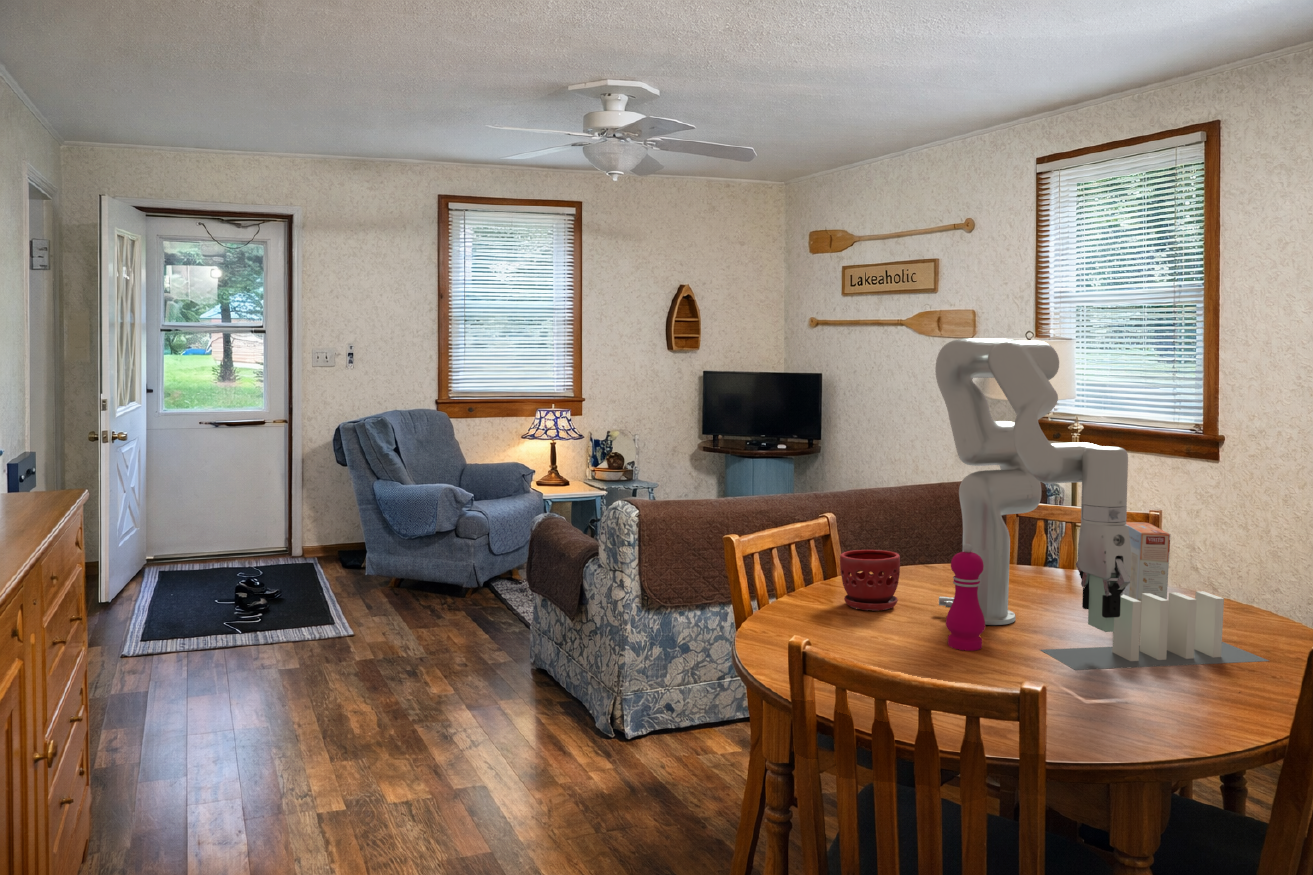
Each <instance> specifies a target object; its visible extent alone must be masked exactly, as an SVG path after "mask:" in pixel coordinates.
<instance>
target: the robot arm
mask: <svg viewBox="0 0 1313 875" xmlns="http://www.w3.org/2000/svg"><path fill="white" fill-rule="evenodd" d="M1059 368H1060V358H1059V354H1058V353H1057V351H1056V349H1055V348H1054V347H1053V346H1052V345H1051V344H1049V343H1048V342H1045V341H1042V340H1026V339H1025V340H1023V339H1014V338H982V337H981V338H980V337H979V338H978V337H977V338H976V337H975V338H974V337H971V338H970V337H967V338H958V339H954V340H951V341H949V342H947V343H946V344H944V345H943V346H942V347H941V349H939V352H938V355H937V357H936V361H935V368H934V369H935V379H936V383H937V386H938V388H939V391H940V394H941V397H942V399H943V401H944V404H945V406H946V410H947V413H948V419H949V423H950V428H951V433H952V437H953V442H954V446H955V449H956V452H957V456H958V459H959V460H960V461H961V462H962V463H963V464H965V465H967V466H971V467H972V466H973V467H974V466H976V467H978V466H979V467H980V466H998V467H999V469H988V470H987V469H985V470H979V471H974V472H971V473H969V474H968V475H966V476H965V477H964V478H963V479H962V480H961V482H960V485H959V488H958V498H959V504H960V509H961V510H960V511H961V517H962V518H961V519H962V547H963V546H964V545H965V544H970V545H971V546H972V548H973V549H972V551H971V552H973V553H976V554H978V555H979V556H980V557H981V559H982V560H983V565H984V568H983V572H982V573H981V574H980V575H979V578H980V579H981V580H980V586H978V601H979V605H980V608H981V610H982V613H983V615H984V619H985V626H1002V625H1003V626H1004V625H1005V626H1006V625H1008V624H1013V623H1014V622H1016V614H1015V612H1014V611H1011V610H1009V593H1010V592H1009V588H1010V587H1009V585H1010V582H1009V581H1010V558H1011V557H1010V552H1011V536H1010V532H1009V528H1008V526H1007V525H1006V523H1005V521H1004V519H1003V517H1002V516H1005V515H1014V514H1015V515H1016V514H1018V515H1019V514H1026V513H1030V512H1032V511H1034V510H1035V509H1037V508H1038V506H1039V505H1040V502H1041V500H1042V484H1041V483H1044V484H1065V483H1067V484H1068V483H1071V484H1073V483H1081V504H1080V505H1081V506H1080V526H1079V534H1078V542H1077V543H1078V544H1077V545H1078V546H1077V561H1076V562H1075V567H1076V569H1077V571H1078V572H1079V575H1078V576H1079V577H1080V579H1081V582H1080V585H1081V587H1082V602H1081V604H1082V609H1084V610H1088V609H1089V576H1090V575H1093V576H1096V577H1099V578H1102V579H1103V584H1104V590H1105V595H1103V597H1102V616H1103V617H1105V618H1112V617H1120V603H1121V596H1122V595H1123V591H1124V589H1125V587H1126V586H1127V585H1128V584H1129V583H1130V576H1131V546H1130V536H1129V530H1128V525H1126V522H1127V512H1128V511H1127V509H1128V506H1127V505H1128V503H1127V502H1128V478H1129V477H1128V473H1129V454H1128V451H1127V450H1126V449H1125V448H1123V447H1119V446H1109V445H1106V446H1105V445H1103V446H1102V445H1098V444H1096V443H1095V444H1094V443H1092V442H1091V443H1090V442H1085V441H1084V442H1083V441H1082V442H1080V441H1079V442H1052V443H1051V442H1050V441H1049V439H1048V438H1047V437H1046V435H1045V433H1044V432H1043V430H1042V429H1041V426H1040V424H1039V420H1040V419H1042V418H1043V417H1045V416H1047V415H1048V414H1049V413H1050V412H1051V411H1052V410H1054V408H1055V407H1056V405H1057V404H1058V402H1059V395H1058V394H1059V393H1057V391H1056V389H1055V388H1054V386H1053V385H1052V384H1051V381H1050V380H1052V379H1054V378H1055V377H1056V375H1057V373H1058V372H1059ZM973 379H994V380H995V381H996V383H997V384H998V386H999V388H1000V389H1001V391H1002V392H1003V394H1004V396H1005V398H1006V399H1007V401H1008V403H1009V404H1010V406H1011V408H1012V409H1013V411H1014V412H1015V414H1016V417H1015V419H1014V421H1010V420H1009V421H1008V420H998V421H997V420H995V419H993V416H992V414H991V411H990V407H989V402H988V400H987V397H986V395H985V394H984V393H983V391H982V390H981V388H979V386H977V384H975V382H974V381H973ZM962 552H964V551H963V550H962ZM1111 575H1115V578H1110V577H1111ZM1110 582H1115V583H1114V584H1113V585H1112V586H1111V587H1110ZM954 597H955V595H954V596H953V597H949V596H938V606H943V607H944V606H945V608H949V609H950V608H951V606H952V603H953V601H954Z"/></svg>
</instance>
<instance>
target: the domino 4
mask: <svg viewBox="0 0 1313 875" xmlns="http://www.w3.org/2000/svg"><path fill="white" fill-rule="evenodd" d="M1194 599H1197V603H1196V624H1195V645H1194V649H1195V650H1197V651H1200V652H1202V653H1204V654H1206V655H1209V656H1211V657H1221V649H1222V642H1223V628H1224V627H1223V626H1224V624H1223V623H1224V608H1225V607H1224V604H1225V598H1224V597H1221V596H1218V595H1215V594H1212V593H1209V592H1207V591H1204V590H1203V591H1202V590H1201V591H1198V590H1197V591H1195V597H1194Z"/></svg>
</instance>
